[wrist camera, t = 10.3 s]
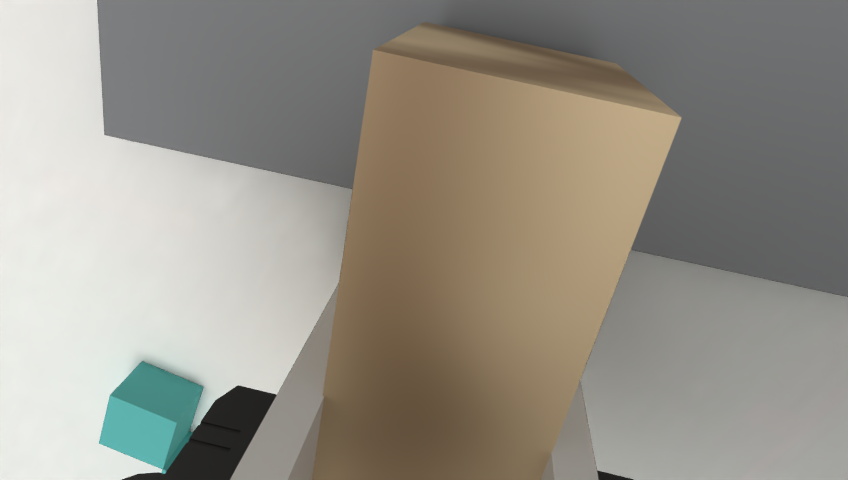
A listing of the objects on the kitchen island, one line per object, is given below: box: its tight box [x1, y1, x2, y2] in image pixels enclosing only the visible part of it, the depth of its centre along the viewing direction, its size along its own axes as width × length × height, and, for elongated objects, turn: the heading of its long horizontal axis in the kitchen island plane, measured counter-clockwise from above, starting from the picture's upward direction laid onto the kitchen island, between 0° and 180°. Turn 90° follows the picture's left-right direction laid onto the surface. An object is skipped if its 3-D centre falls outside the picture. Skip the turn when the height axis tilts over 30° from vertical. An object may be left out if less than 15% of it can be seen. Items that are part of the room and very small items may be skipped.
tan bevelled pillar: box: [312, 22, 682, 480], centre depth 13 cm, size 4×14×5 cm, turn 169°
